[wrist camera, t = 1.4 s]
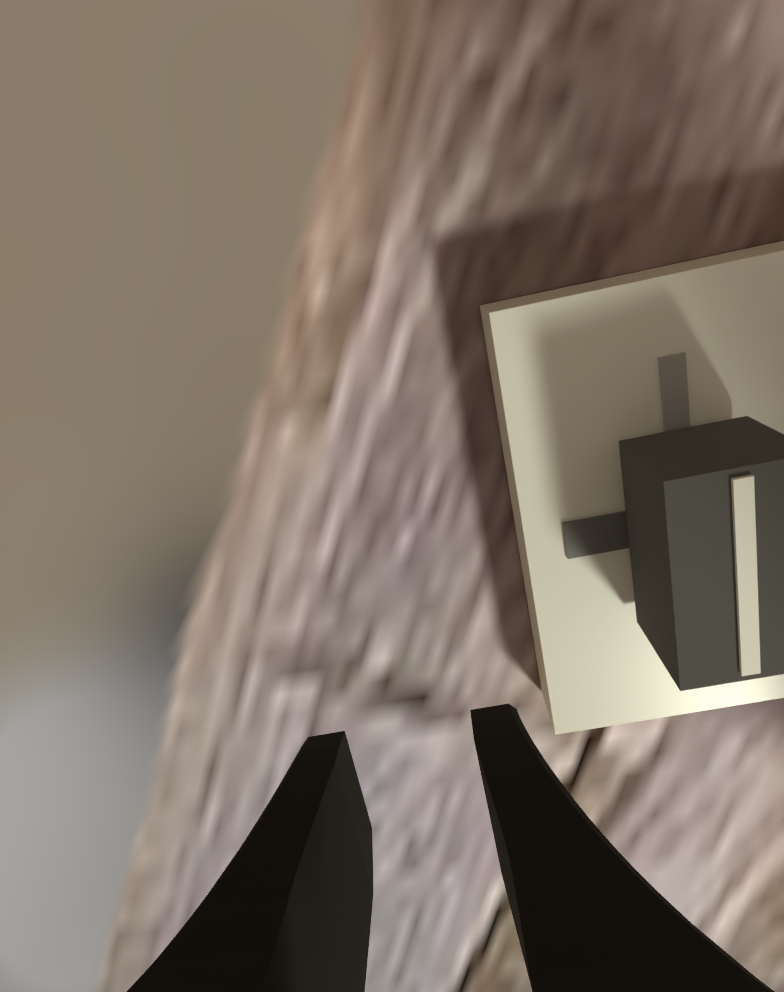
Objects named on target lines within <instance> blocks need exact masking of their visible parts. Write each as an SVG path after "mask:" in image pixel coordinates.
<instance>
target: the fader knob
mask: <svg viewBox="0 0 784 992" xmlns="http://www.w3.org/2000/svg"><path fill="white" fill-rule="evenodd" d="M619 451H620V461H621V471H622V481H623V491H624V500H625V510H626V520H627V530H628V540H629V549H630V559H631V569H632V579H633V589H634V599H635V608H636V618H637V623H638V624H639V626H640V628H641V629H642V631H643V632H644V634H645V636H646V637H647V639H648V640H649V642H650V644H651V645H652V647H653V648H654V650H655V652H656V653H657V655H658V656H659V658H660V660H661V661H662V663H663V664H664V666H665V668H666V669H667V671H668V672H669V674H670V676H671V677H672V679H673V680H674V682H675V684H676V685H677V687H678V688H679V690H680V691H685V690H691V689H697V688H703V687H709V686H715V685H721V684H727V683H733V682H739V681H745V680H751V679H757V678H764V677H770V676H776V675H782V674H784V434H782V433H780V432H778V431H776V430H774V429H772V428H770V427H768V426H766V425H764V424H762V423H760V422H758V421H756V420H754V419H752V418H750V417H748V416H744V417H739V418H733V419H728V420H723V421H718V422H713V423H708V424H703V425H697V426H692V427H687V428H682V429H677V430H672V431H667V432H661V433H656V434H651V435H646V436H641V437H636V438H631V439H625V440H620V441H619Z"/></svg>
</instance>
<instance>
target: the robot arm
mask: <svg viewBox="0 0 784 992" xmlns="http://www.w3.org/2000/svg"><path fill="white" fill-rule="evenodd" d="M471 718H472V727H473V734H474V741H475V746H476V751H477V756H478V760H479V765H480V770H481V775H482V780H483V785H484V790H485V794H486V799H487V804H488V809H489V814H490V819H491V824H492V828H493V833H494V838H495V843H496V848H497V853H498V858H499V862H500V867H501V872H502V876H503V880H504V884H505V888H506V892H507V895H508V899H509V903H510V907H511V911H512V915H513V918H514V922H515V926H516V930H517V934H518V937H519V941H520V945H521V949H522V953H523V957H524V960H525V964H526V968H527V972H528V976H529V979H530V983H531V987H532V992H774V991H773V990H772V989H770V988H769V987H768V986H766V985H765V984H764V983H762V982H761V981H760V980H759V979H757V978H756V977H755V976H754V975H752V974H751V973H750V972H749V971H748V970H746V969H745V968H744V967H743V966H742V965H740V964H739V963H738V962H737V961H736V960H735V959H733V958H732V957H731V956H730V955H729V954H727V953H726V952H725V951H724V950H723V949H721V948H720V947H719V946H718V945H717V944H715V943H714V942H713V941H712V940H711V939H710V938H708V937H707V936H706V935H705V934H704V933H702V932H701V931H700V930H699V929H698V928H696V927H695V926H694V925H693V924H692V923H691V922H690V921H688V920H687V919H686V918H685V917H684V916H683V915H682V914H681V913H680V912H679V911H678V910H677V909H676V908H674V907H673V906H672V905H671V904H670V903H669V902H668V901H667V900H666V899H665V898H664V897H663V896H662V895H661V894H660V893H658V892H657V891H656V890H655V889H654V888H653V887H652V886H651V885H650V884H649V883H648V882H647V881H646V880H645V879H644V878H643V877H642V876H641V875H640V874H639V873H638V872H637V871H636V870H635V869H634V868H633V867H632V866H631V865H630V863H629V862H628V861H627V860H626V859H625V858H624V857H623V856H622V855H621V854H620V853H619V852H618V851H617V850H616V848H615V847H614V846H613V845H612V844H611V843H610V842H609V841H608V840H607V838H606V837H605V836H604V835H603V834H602V833H601V832H600V830H599V829H598V828H597V827H596V826H595V825H594V823H593V822H592V821H591V820H590V819H589V818H588V816H587V815H586V814H585V813H584V811H583V810H582V809H581V808H580V807H579V805H578V804H577V803H576V802H575V800H574V799H573V798H572V796H571V795H570V794H569V792H568V791H567V790H566V788H565V787H564V786H563V784H562V783H561V782H560V780H559V779H558V778H557V777H556V775H555V774H554V773H553V771H552V770H551V768H550V767H549V765H548V764H547V763H546V761H545V760H544V758H543V757H542V755H541V753H540V752H539V750H538V749H537V747H536V746H535V744H534V743H533V741H532V739H531V738H530V736H529V734H528V732H527V731H526V729H525V727H524V725H523V723H522V721H521V719H520V717H519V714H518V712H517V709H516V708H514V707H513V706H511V705H510V704H504V705H498V706H492V707H486V708H480V709H474V710H471ZM372 901H373V851H372V826H371V823H370V819H369V816H368V812H367V809H366V805H365V802H364V798H363V795H362V791H361V787H360V784H359V780H358V777H357V773H356V770H355V766H354V763H353V759H352V755H351V752H350V748H349V745H348V741H347V738H346V734H345V731H342V732H336V733H330V734H324V735H318V736H312V737H308V738H307V740H306V741H305V742H304V744H303V745H302V747H301V749H300V751H299V752H298V754H297V756H296V757H295V759H294V761H293V763H292V764H291V766H290V768H289V770H288V771H287V773H286V775H285V776H284V778H283V780H282V782H281V783H280V785H279V787H278V788H277V790H276V792H275V793H274V795H273V797H272V798H271V800H270V802H269V803H268V805H267V807H266V808H265V810H264V811H263V813H262V815H261V816H260V818H259V819H258V821H257V822H256V824H255V826H254V827H253V829H252V830H251V832H250V834H249V835H248V837H247V838H246V840H245V841H244V843H243V844H242V846H241V848H240V849H239V851H238V852H237V853H236V855H235V856H234V858H233V859H232V861H231V862H230V863H229V865H228V866H227V868H226V869H225V871H224V872H223V873H222V875H221V876H220V878H219V879H218V881H217V882H216V883H215V885H214V886H213V888H212V889H211V891H210V892H209V893H208V895H207V896H206V897H205V899H204V900H203V902H202V903H201V904H200V905H199V907H198V908H197V909H196V911H195V912H194V913H193V915H192V916H191V917H190V919H189V920H188V921H187V922H186V924H185V925H184V926H183V928H182V929H181V930H180V931H179V933H178V934H177V935H176V936H175V937H174V939H173V940H172V941H171V942H170V943H169V945H168V946H167V947H166V948H165V950H164V951H163V952H162V953H161V954H160V956H159V957H158V958H157V959H156V960H155V961H154V963H153V964H152V965H151V966H150V967H149V968H148V969H147V970H146V972H145V973H144V974H143V975H142V976H141V977H140V978H139V979H138V980H137V981H136V982H135V983H134V984H133V986H132V987H131V988H130V989H129V990H128V991H127V992H364V991H365V980H366V969H367V958H368V947H369V936H370V924H371V913H372Z"/></svg>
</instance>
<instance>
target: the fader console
mask: <svg viewBox="0 0 784 992" xmlns="http://www.w3.org/2000/svg"><path fill="white" fill-rule="evenodd" d="M480 311H481V317H482V324H483V330H484V336H485V342H486V348H487V355H488V361H489V367H490V373H491V379H492V386H493V392H494V398H495V404H496V410H497V417H498V423H499V429H500V435H501V442H502V448H503V454H504V460H505V466H506V473H507V479H508V485H509V491H510V497H511V504H512V510H513V516H514V522H515V528H516V535H517V541H518V547H519V553H520V560H521V566H522V572H523V578H524V584H525V591H526V597H527V603H528V609H529V615H530V622H531V628H532V634H533V640H534V646H535V653H536V659H537V665H538V671H539V678H540V684H541V690H542V694H543V697H544V701H545V704H546V707H547V710H548V713H549V716H550V720H551V723H552V726H553V729H554V732H555V735H557V734H563V733H569V732H575V731H582V730H588V729H594V728H600V727H606V726H612V725H619V724H625V723H631V722H637V721H643V720H649V719H656V718H662V717H668V716H674V715H680V714H686V713H693V712H699V711H705V710H711V709H717V708H723V707H730V706H736V705H742V704H748V703H754V702H760V701H767V700H773V699H779V698H784V674H782V675H776V676H770V677H764V678H757V679H751V680H745V681H739V682H733V683H727V684H721V685H715V686H709V687H703V688H697V689H691V690H685V691H680V690H679V688H678V687H677V685H676V684H675V682H674V680H673V679H672V677H671V676H670V674H669V672H668V671H667V669H666V668H665V666H664V664H663V663H662V661H661V660H660V658H659V656H658V655H657V653H656V652H655V650H654V648H653V647H652V645H651V644H650V642H649V640H648V639H647V637H646V636H645V634H644V632H643V631H642V629H641V628H640V626H639V624H638V623H637V618H636V608H635V599H634V589H633V579H632V569H631V559H630V549H629V540H628V530H627V520H626V510H625V500H624V491H623V481H622V471H621V461H620V451H619V441H620V440H625V439H631V438H636V437H641V436H646V435H651V434H656V433H661V432H667V431H672V430H677V429H682V428H687V427H692V426H697V425H703V424H708V423H713V422H718V421H723V420H728V419H733V418H739V417H744V416H748V417H750V418H752V419H754V420H756V421H758V422H760V423H762V424H764V425H766V426H768V427H770V428H772V429H774V430H776V431H778V432H780V433H782V434H784V241H780V242H775V243H770V244H766V245H761V246H756V247H752V248H747V249H742V250H738V251H733V252H728V253H723V254H719V255H714V256H709V257H705V258H700V259H695V260H691V261H686V262H681V263H677V264H672V265H667V266H662V267H658V268H653V269H648V270H644V271H639V272H634V273H630V274H625V275H620V276H616V277H611V278H606V279H602V280H597V281H592V282H587V283H583V284H578V285H573V286H569V287H564V288H559V289H555V290H550V291H545V292H541V293H536V294H531V295H526V296H522V297H517V298H512V299H508V300H503V301H498V302H494V303H489V304H484V305H480Z"/></svg>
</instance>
